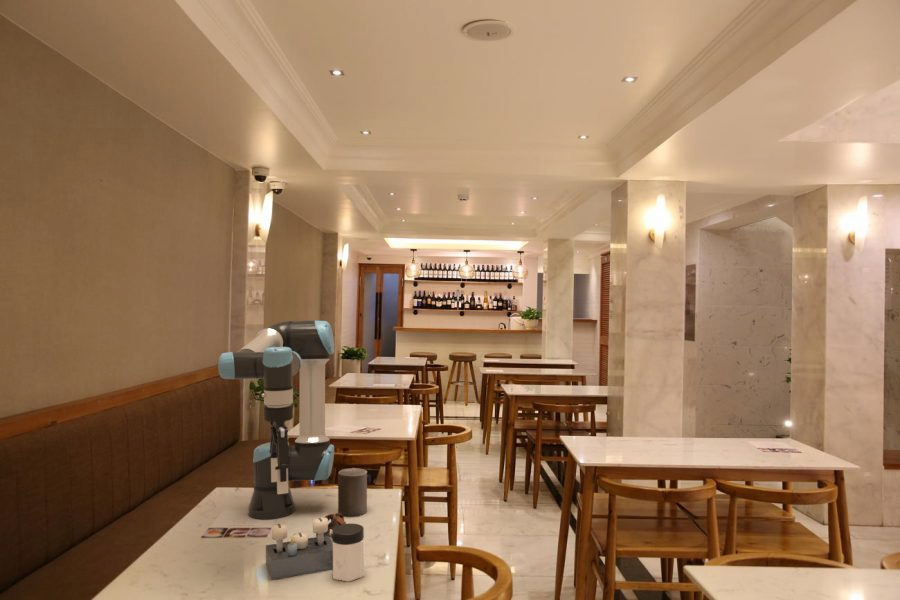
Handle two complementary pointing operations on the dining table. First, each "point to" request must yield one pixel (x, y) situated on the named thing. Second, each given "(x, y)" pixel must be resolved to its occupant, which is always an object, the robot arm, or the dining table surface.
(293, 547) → the potentiometer
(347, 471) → the pillar candle
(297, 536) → the knob middle
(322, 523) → the knob right
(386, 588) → the dining table surface
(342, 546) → the jar
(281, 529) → the knob left
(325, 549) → the panel
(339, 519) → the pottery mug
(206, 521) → the dining table surface
